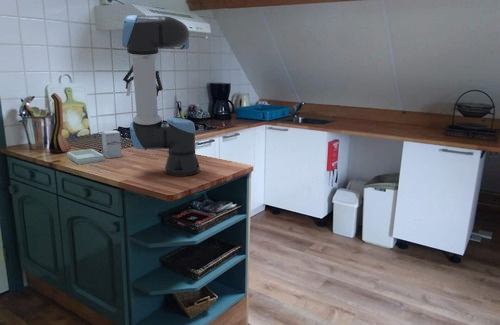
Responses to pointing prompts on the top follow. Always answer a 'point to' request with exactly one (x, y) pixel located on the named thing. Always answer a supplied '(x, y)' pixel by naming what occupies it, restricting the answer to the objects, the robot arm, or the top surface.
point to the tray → (85, 156)
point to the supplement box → (111, 144)
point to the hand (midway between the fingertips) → (140, 99)
